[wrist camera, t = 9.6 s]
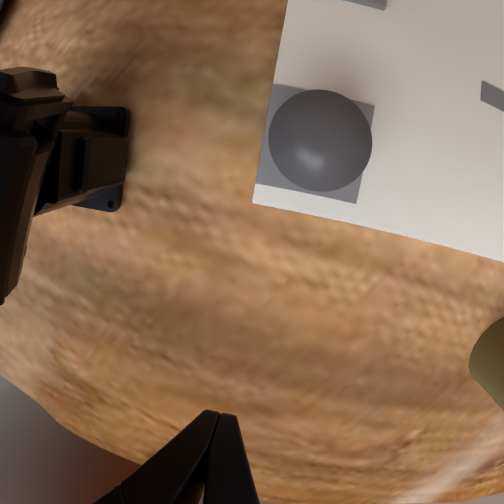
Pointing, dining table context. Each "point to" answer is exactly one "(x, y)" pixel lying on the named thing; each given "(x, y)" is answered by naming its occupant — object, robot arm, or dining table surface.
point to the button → (320, 140)
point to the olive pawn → (490, 362)
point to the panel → (404, 115)
